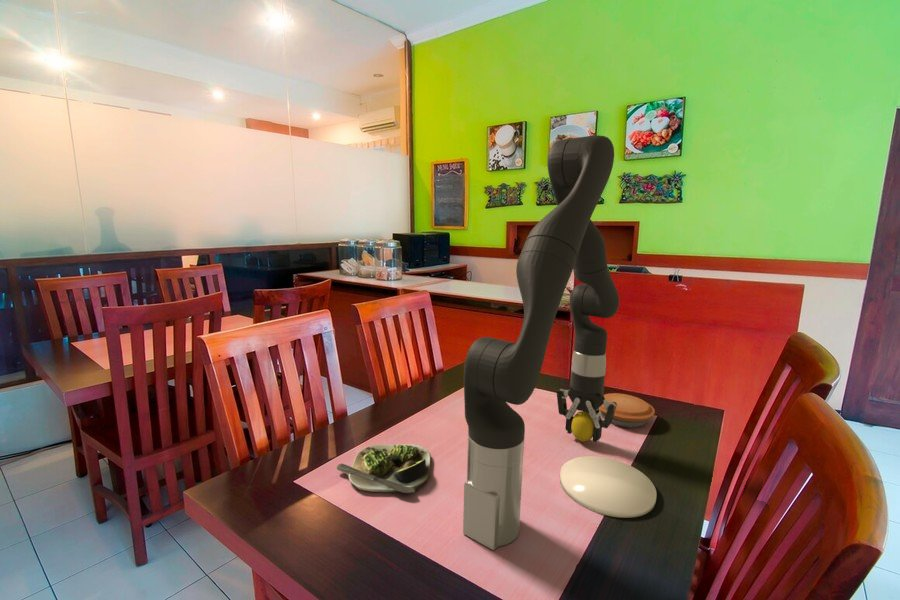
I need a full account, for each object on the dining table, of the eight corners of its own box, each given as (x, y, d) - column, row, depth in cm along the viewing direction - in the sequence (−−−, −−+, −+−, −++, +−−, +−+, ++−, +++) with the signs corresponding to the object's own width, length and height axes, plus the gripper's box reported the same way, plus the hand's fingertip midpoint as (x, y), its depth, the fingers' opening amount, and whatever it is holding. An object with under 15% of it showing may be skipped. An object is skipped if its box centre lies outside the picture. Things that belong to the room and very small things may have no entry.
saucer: (643, 532, 71) (644, 526, 71) (545, 490, 82) (545, 485, 81) (664, 482, 85) (665, 476, 85) (578, 452, 96) (579, 447, 95)
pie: (665, 422, 112) (667, 404, 111) (631, 437, 103) (633, 419, 102) (614, 401, 124) (616, 385, 123) (581, 414, 115) (582, 397, 115)
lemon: (595, 449, 97) (598, 417, 96) (571, 446, 98) (573, 415, 97) (592, 437, 102) (595, 407, 101) (569, 435, 103) (571, 405, 102)
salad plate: (325, 499, 78) (324, 477, 78) (348, 449, 96) (348, 430, 95) (427, 502, 78) (427, 480, 77) (432, 451, 96) (432, 432, 95)
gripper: (552, 367, 98) (548, 433, 101) (615, 382, 90) (608, 453, 93) (564, 359, 104) (560, 421, 107) (624, 372, 96) (618, 440, 99)
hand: (582, 436), depth 100 cm, fingers closed on lemon, 5 cm apart
